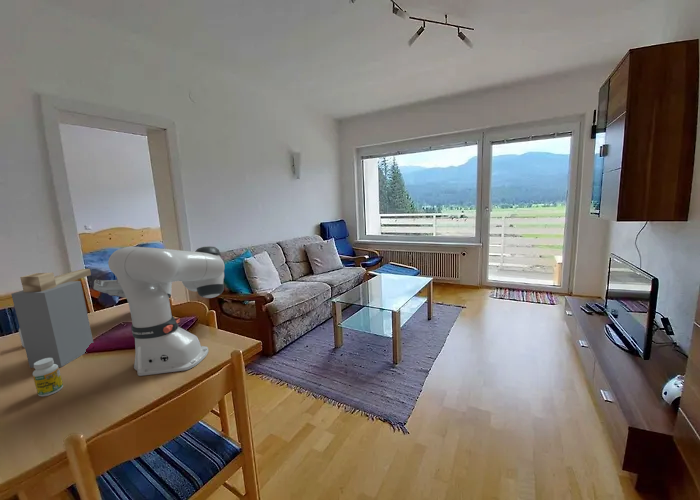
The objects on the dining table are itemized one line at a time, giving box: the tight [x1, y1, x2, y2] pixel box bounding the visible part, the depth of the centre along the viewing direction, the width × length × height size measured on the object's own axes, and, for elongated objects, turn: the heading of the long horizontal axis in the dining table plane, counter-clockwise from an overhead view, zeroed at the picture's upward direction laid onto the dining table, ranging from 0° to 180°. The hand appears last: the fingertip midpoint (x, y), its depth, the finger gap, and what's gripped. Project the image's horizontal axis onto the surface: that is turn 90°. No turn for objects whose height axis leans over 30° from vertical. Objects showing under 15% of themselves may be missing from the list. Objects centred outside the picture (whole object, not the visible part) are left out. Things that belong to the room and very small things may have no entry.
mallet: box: [19, 268, 92, 292], centre depth 109 cm, size 6×20×5 cm, turn 178°
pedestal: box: [11, 280, 94, 369], centre depth 107 cm, size 11×13×26 cm
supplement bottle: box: [32, 358, 64, 397], centre depth 89 cm, size 5×5×10 cm
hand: (106, 281), depth 129 cm, fingers open, 8 cm apart
